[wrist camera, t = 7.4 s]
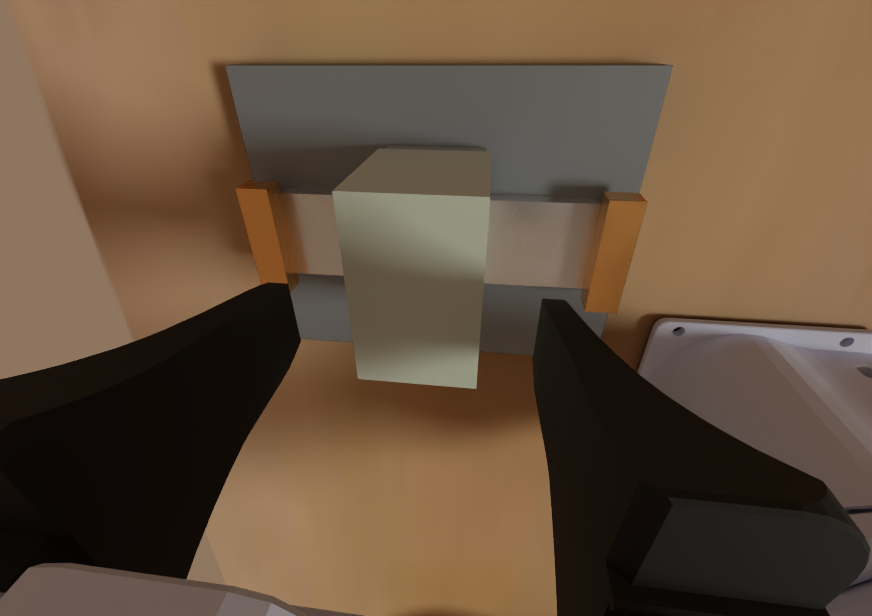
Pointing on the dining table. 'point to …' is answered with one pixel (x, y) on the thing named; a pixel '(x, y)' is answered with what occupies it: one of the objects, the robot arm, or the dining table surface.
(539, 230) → the rail
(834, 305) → the dining table surface
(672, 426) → the robot arm
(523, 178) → the mounting board
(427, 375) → the block
